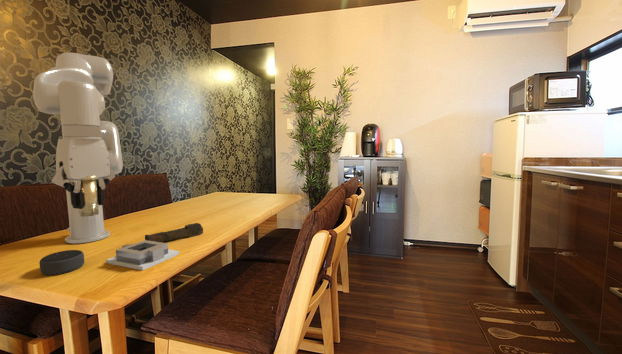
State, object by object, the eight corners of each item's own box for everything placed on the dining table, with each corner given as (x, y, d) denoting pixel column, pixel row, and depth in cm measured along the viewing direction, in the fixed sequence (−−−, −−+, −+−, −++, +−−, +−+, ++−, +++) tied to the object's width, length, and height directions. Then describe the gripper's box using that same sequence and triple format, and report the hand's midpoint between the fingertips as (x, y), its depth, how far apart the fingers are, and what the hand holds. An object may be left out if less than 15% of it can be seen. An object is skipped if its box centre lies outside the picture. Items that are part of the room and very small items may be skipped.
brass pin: (72, 216, 72) (69, 176, 71) (93, 212, 76) (90, 174, 75) (85, 217, 70) (81, 176, 69) (105, 213, 74) (102, 175, 73)
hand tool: (147, 248, 92) (146, 234, 91) (144, 245, 95) (143, 231, 94) (205, 235, 104) (205, 223, 104) (201, 233, 107) (201, 221, 107)
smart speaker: (70, 261, 82) (69, 247, 81) (92, 264, 79) (91, 250, 79) (32, 274, 73) (30, 259, 73) (55, 278, 71) (54, 263, 70)
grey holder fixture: (107, 259, 80) (107, 248, 80) (137, 248, 88) (136, 238, 88) (144, 265, 75) (143, 254, 75) (172, 254, 83) (171, 243, 83)
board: (106, 263, 79) (106, 259, 79) (145, 248, 91) (144, 245, 91) (142, 270, 74) (142, 266, 74) (179, 254, 86) (178, 251, 85)
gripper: (106, 135, 80) (112, 199, 82) (30, 132, 65) (39, 212, 66) (125, 134, 77) (130, 201, 79) (50, 131, 62) (58, 215, 64)
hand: (88, 205), depth 73 cm, fingers closed on brass pin, 4 cm apart
